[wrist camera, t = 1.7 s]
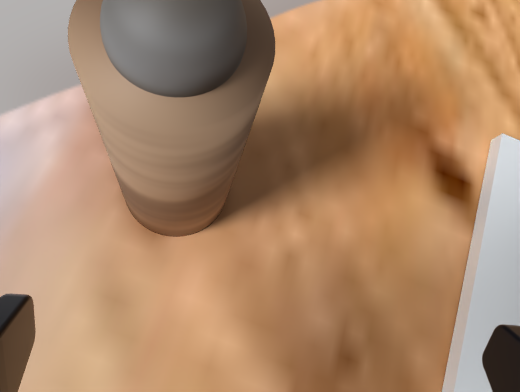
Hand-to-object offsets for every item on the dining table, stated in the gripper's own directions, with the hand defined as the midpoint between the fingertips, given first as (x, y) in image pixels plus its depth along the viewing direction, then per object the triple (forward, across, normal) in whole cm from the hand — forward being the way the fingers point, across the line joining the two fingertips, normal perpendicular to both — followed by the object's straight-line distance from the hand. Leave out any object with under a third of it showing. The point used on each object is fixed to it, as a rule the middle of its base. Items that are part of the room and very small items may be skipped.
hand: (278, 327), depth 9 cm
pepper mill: (+15, +3, +4) cm, 16 cm away
